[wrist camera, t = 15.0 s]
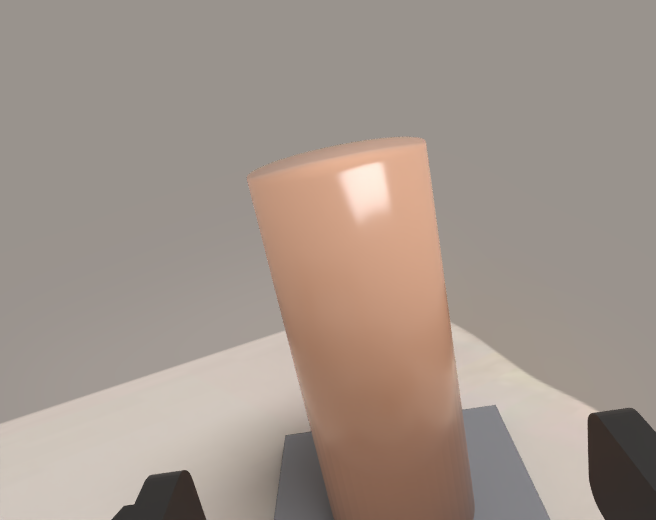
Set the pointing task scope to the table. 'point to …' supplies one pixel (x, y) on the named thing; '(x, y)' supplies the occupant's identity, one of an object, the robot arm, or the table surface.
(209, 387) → the table surface
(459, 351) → the table surface
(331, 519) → the mat
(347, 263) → the peach cup
